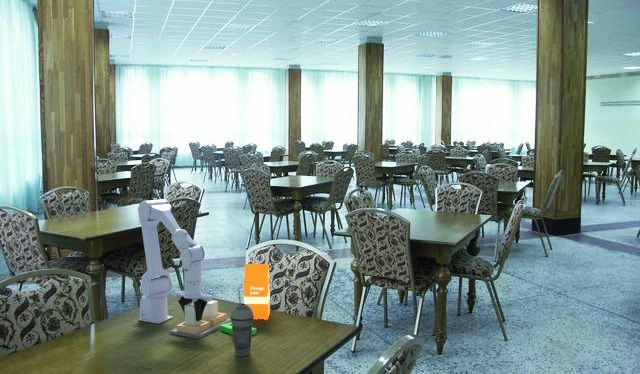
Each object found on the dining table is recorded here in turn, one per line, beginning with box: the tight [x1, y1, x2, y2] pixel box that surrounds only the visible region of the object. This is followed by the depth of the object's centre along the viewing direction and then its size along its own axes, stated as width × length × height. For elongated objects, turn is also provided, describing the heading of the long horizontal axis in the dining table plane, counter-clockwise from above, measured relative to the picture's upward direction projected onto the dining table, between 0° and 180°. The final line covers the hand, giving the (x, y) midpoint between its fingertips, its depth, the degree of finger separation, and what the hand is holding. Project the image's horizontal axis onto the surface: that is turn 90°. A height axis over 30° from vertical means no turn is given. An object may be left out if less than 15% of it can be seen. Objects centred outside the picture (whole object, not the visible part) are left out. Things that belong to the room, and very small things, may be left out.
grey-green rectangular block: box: [202, 299, 219, 319], centre depth 207 cm, size 4×4×7 cm
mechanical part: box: [219, 323, 257, 336], centre depth 198 cm, size 12×6×8 cm, turn 49°
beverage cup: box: [229, 288, 254, 357], centre depth 178 cm, size 7×7×20 cm
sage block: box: [184, 302, 202, 327], centre depth 198 cm, size 4×4×7 cm
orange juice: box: [243, 263, 271, 321], centre depth 215 cm, size 8×9×20 cm
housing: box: [169, 311, 231, 340], centre depth 203 cm, size 12×20×3 cm, turn 155°
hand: (193, 319), depth 198 cm, fingers closed on sage block, 4 cm apart
